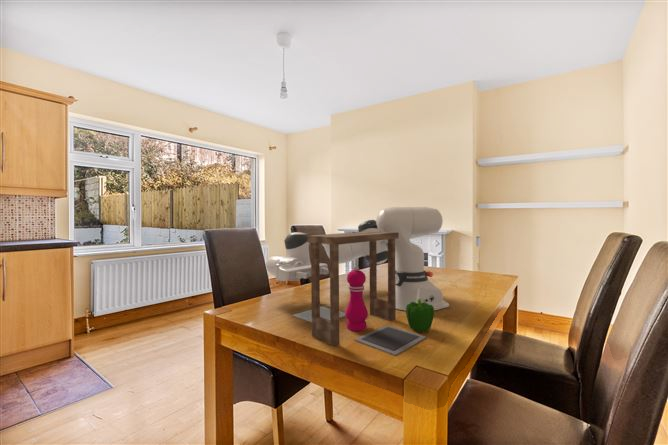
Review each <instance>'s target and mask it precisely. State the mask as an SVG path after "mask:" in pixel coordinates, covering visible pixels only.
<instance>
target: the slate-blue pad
mask: <svg viewBox="0 0 668 445" xmlns="http://www.w3.org/2000/svg"><path fill="white" fill-rule="evenodd" d="M292 315H293V317H296V318H299V319H300V320H303V321H306V322H309V323H311V324H312V308H311V309H308V310H305V311H304V310H303V311H301V312H298V313H295V314H292ZM320 317H323V318H326V319H329V320H330V307H327V306H321V305H320ZM344 317H345V318H346V316H345V312H342V311H339V319H342V318H344Z"/></svg>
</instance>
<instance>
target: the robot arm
mask: <svg viewBox="0 0 668 445" xmlns="http://www.w3.org/2000/svg"><path fill="white" fill-rule="evenodd" d="M443 221H444V220H443V216H442V214H441V212H440V210H438V209H437V208H434V207H427V206H392V207H388V208H387V207H386V208H383V209H381V210H380V211H379V212H378V213H377V215H376V219H375V220H374V219H367V220H366V219H365V220H364V221H362V222H361V223H360V224H359V225H358V226H357V232H369V231H374V232H399V238H397V239H395V290H396V310H400V311H405V312H406V307H407V304H410V303H411V302H415V303H418V299H421V303H423V302H425V303H427V304H428V305H432V306H433V308H434V311H437V310H438V311H439V310H442V309H447V308H450V304H449V302H448V301H445V300H444V298H443V292H442V290H441V289H440V288H439V287H438V286H437V285H435V284H434V283H433V282H432V281H430V280H429V278H432V277H434V273H433V272H432V271H428V270H427V271H426V270H425V253H424V250H423V249H422V248H421V247H420V246H419V245H417V244H415V243H413V242H411V240H412V239H416V238H419V237H422V236H427V235H433V234H436V233H438V232H440V230H441V228H442V225H443ZM310 235H324V233H305V232H300V231H295V232H291V233H290V232H289V233H288V234H287V235H286V237H285V239H284V241H283V242H284V246H285V249H286V250H285V252H286V256H285V255H272V256H270V257H269V258H268V259H267V260H266V263H265V268H266V271H267V272H268V273H269V274H270V275H271V276H273V277H275V281H277V282H289V281H290V282H291V281H293V282H298V281H299V280H301V279H304V280H306V279H309V278H310V277H311V256H310V249H309V246H310V243H309V242H307V236H310ZM321 245H322V246H323V247H324V248H323V249H324V251H325V253H326V255H327V257H328V259H330V244H321ZM362 257H365V258H364V259H363V260H364V261H367V262H368V264H370V260H369V241H368V242H359V243H349V244H340V245H339V264H346V263H350V262H353V261H355V260H357V259H359V258H362ZM376 258H377V265H380V264H383V263H385V262H386V261H388V240H378V241H376ZM328 267H329V266H328V263H323V262H319V269H320V275H328V274H329V275H330V269H329V268H328ZM428 277H429V278H428Z"/></svg>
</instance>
